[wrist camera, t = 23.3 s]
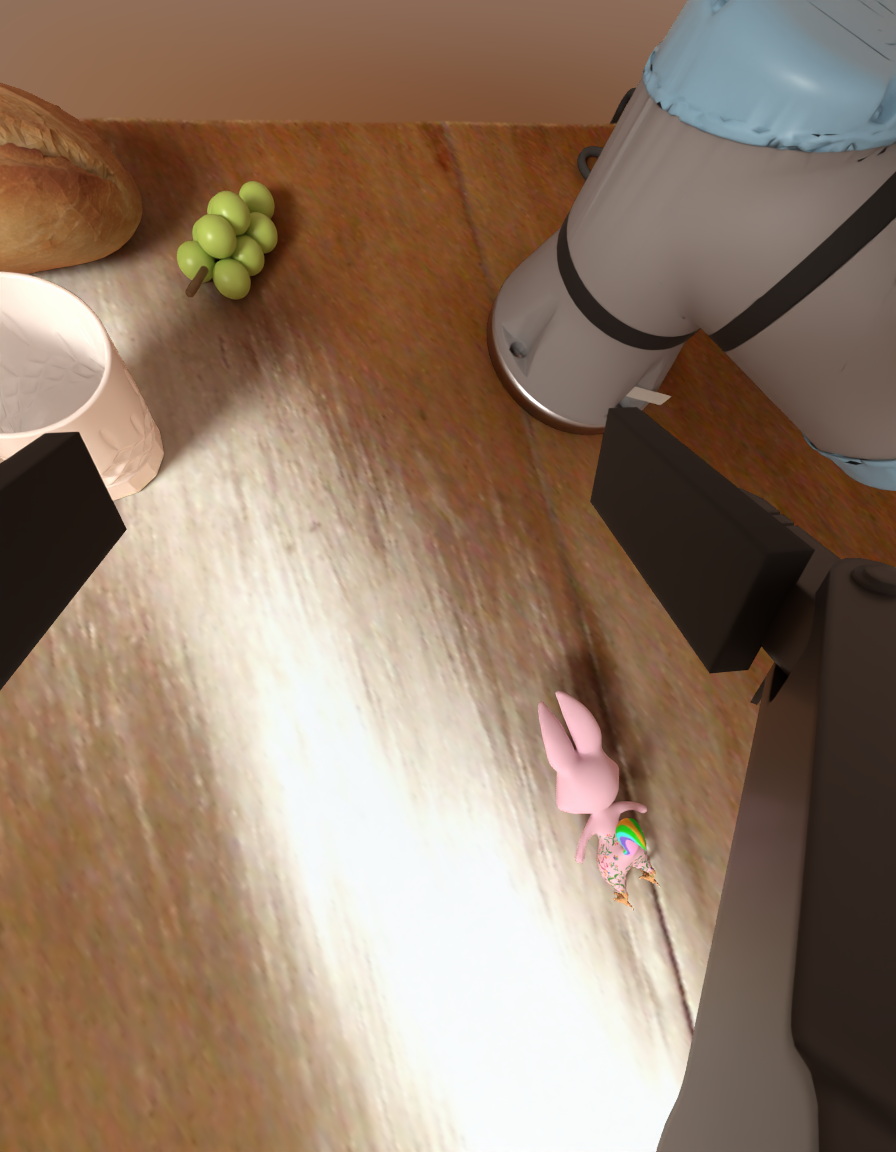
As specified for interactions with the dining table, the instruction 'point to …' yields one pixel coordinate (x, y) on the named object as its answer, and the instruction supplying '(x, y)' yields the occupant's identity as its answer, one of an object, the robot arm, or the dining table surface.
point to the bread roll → (58, 189)
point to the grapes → (230, 241)
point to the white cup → (71, 384)
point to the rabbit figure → (594, 793)
